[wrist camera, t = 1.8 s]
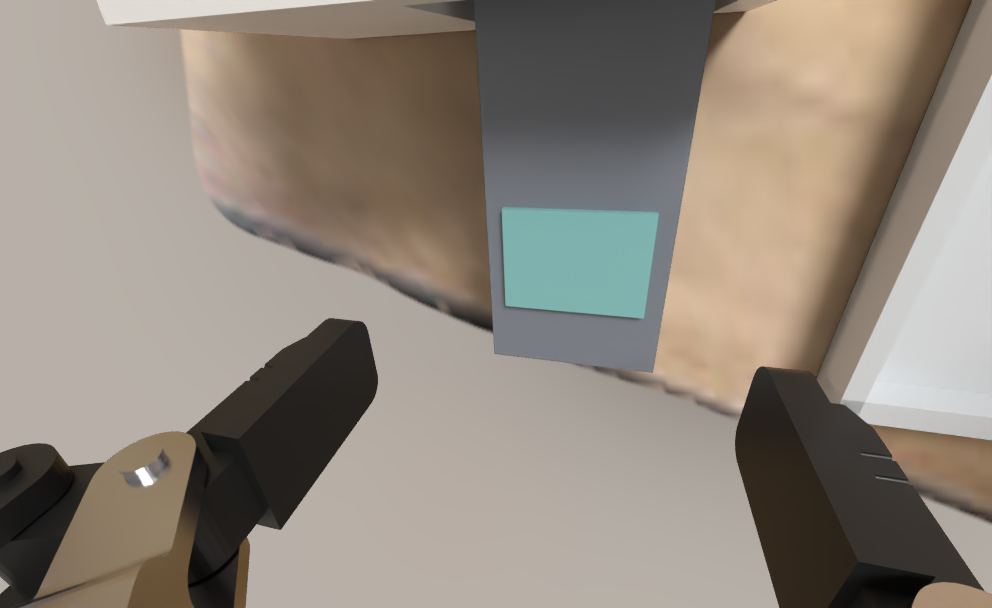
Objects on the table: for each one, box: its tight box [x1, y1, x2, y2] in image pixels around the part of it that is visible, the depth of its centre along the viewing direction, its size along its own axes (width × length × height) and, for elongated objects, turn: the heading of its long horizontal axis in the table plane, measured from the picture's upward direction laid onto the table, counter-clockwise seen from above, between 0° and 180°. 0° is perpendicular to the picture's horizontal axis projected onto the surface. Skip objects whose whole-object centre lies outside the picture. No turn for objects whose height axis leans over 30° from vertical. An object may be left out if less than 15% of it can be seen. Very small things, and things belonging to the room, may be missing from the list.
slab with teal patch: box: [474, 0, 716, 373], centre depth 13 cm, size 5×13×6 cm, turn 2°
